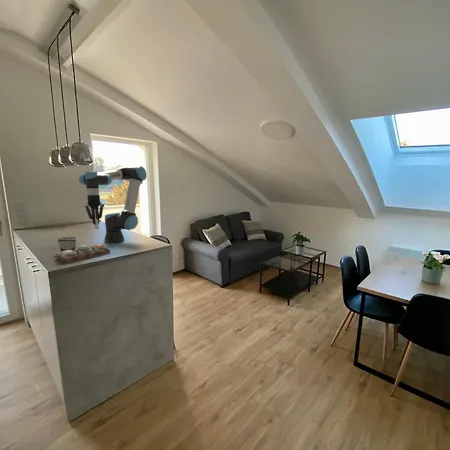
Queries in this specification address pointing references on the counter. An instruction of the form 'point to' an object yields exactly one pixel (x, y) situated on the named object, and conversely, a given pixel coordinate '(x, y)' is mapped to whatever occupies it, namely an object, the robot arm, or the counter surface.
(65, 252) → the cream button
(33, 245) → the counter surface
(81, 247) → the sage button
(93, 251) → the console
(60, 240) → the food container
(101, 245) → the terracotta button
